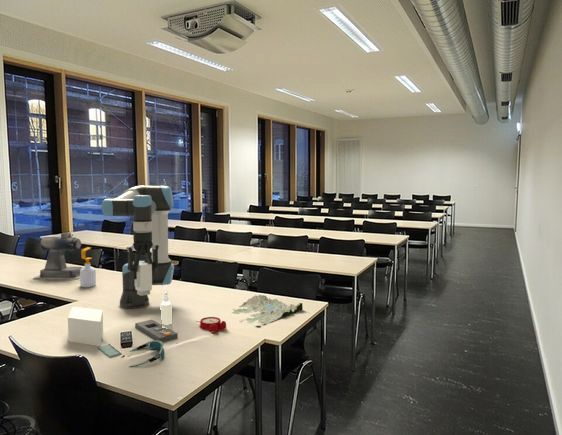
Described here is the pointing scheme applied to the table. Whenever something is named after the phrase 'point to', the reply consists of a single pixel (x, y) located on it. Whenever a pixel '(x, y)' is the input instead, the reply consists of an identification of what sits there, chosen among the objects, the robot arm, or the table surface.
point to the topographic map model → (267, 309)
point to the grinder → (59, 257)
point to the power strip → (156, 330)
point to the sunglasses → (153, 344)
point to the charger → (144, 279)
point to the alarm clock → (212, 324)
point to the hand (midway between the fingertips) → (143, 285)
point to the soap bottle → (87, 272)
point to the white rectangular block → (85, 326)
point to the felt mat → (109, 350)
